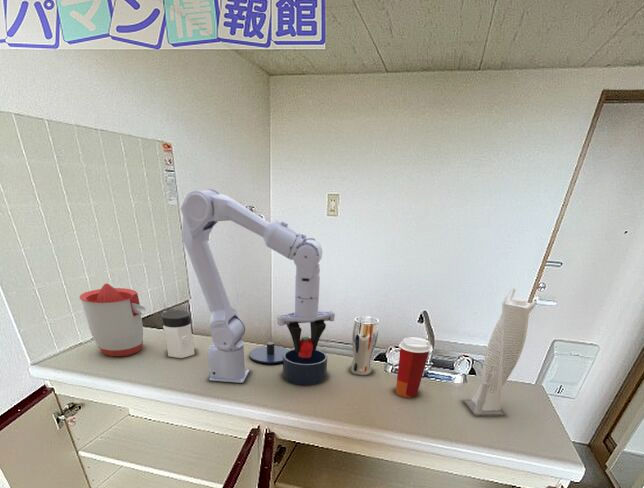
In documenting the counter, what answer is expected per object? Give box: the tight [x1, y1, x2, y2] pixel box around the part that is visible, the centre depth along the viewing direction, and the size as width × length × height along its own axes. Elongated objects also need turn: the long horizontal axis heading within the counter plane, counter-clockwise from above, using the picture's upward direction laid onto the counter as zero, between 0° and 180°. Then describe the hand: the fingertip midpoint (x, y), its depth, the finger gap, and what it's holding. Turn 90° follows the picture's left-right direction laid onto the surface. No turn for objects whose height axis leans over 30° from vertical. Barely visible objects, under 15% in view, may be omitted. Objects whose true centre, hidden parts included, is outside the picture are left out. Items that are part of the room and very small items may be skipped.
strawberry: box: [299, 336, 313, 358], centre depth 104 cm, size 4×4×5 cm
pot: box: [282, 348, 328, 386], centre depth 113 cm, size 12×12×6 cm
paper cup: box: [395, 336, 432, 398], centre depth 103 cm, size 8×8×14 cm
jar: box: [161, 310, 195, 359], centre depth 122 cm, size 9×8×12 cm
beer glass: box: [350, 315, 380, 376], centre depth 114 cm, size 7×7×15 cm
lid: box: [248, 341, 290, 364], centre depth 124 cm, size 13×13×4 cm
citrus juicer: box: [79, 282, 147, 357], centre depth 121 cm, size 16×17×20 cm
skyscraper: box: [463, 287, 537, 417], centre depth 94 cm, size 8×8×28 cm
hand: (305, 350), depth 105 cm, fingers closed on strawberry, 4 cm apart
